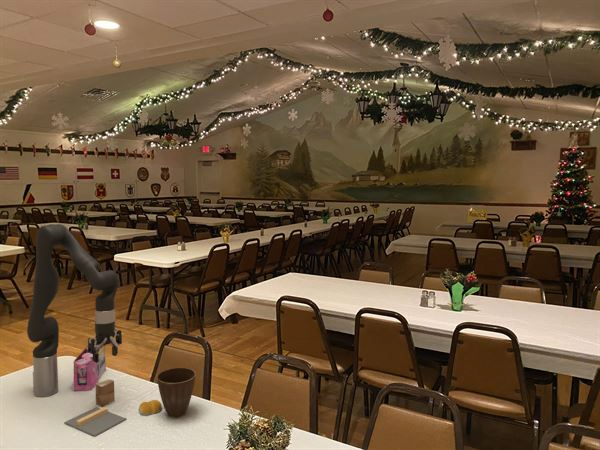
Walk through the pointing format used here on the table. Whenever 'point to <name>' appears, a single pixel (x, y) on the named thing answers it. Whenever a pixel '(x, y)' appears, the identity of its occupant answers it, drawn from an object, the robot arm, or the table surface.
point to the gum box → (88, 369)
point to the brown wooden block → (104, 392)
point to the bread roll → (149, 407)
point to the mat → (95, 421)
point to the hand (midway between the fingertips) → (105, 358)
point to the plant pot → (176, 390)
